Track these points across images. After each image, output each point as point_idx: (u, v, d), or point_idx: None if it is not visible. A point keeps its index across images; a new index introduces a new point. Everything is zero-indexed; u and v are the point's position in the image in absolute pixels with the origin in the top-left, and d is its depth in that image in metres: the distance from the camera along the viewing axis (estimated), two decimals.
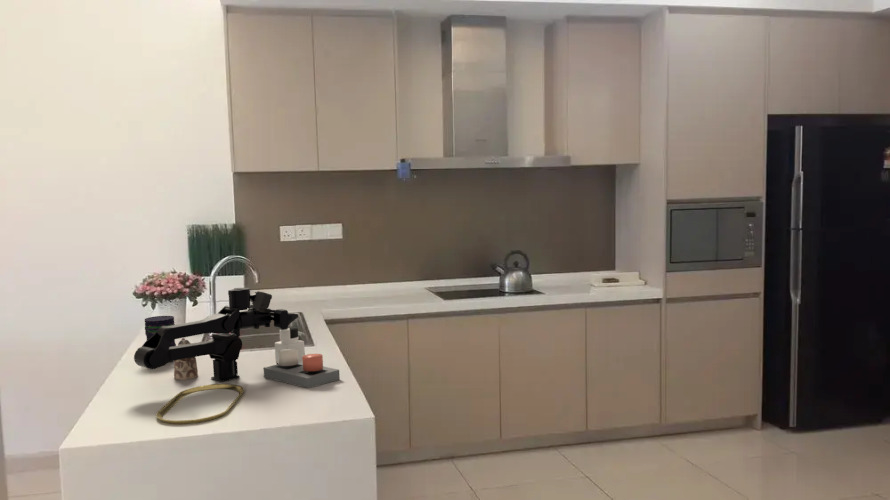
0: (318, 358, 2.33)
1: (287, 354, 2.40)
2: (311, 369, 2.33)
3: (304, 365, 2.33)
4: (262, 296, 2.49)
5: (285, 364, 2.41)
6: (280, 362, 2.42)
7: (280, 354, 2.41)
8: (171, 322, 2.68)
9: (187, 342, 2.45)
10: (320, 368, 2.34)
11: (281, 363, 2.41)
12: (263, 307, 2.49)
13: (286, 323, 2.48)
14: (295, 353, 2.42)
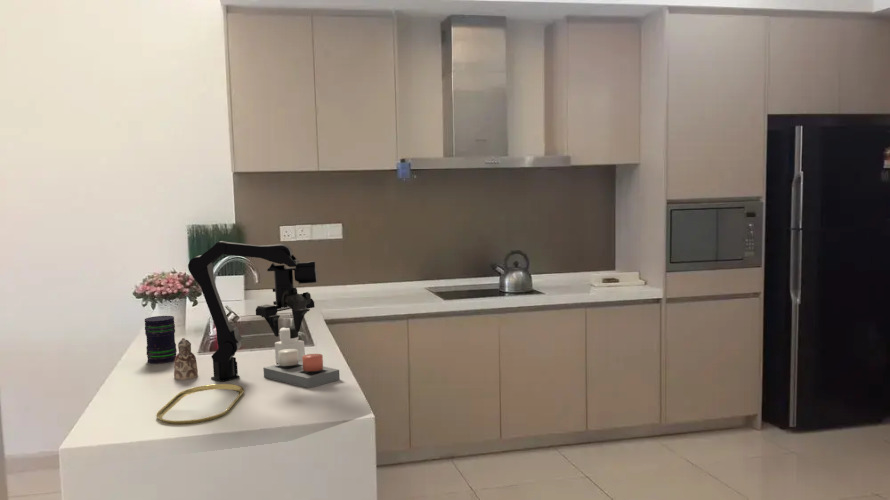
0: (318, 358, 2.33)
1: (287, 354, 2.40)
2: (311, 369, 2.33)
3: (304, 365, 2.33)
4: (294, 299, 2.36)
5: (285, 364, 2.41)
6: (280, 362, 2.42)
7: (280, 354, 2.41)
8: (171, 322, 2.68)
9: (187, 342, 2.45)
10: (320, 368, 2.34)
11: (281, 363, 2.41)
12: (286, 298, 2.37)
13: (258, 313, 2.36)
14: (295, 353, 2.42)
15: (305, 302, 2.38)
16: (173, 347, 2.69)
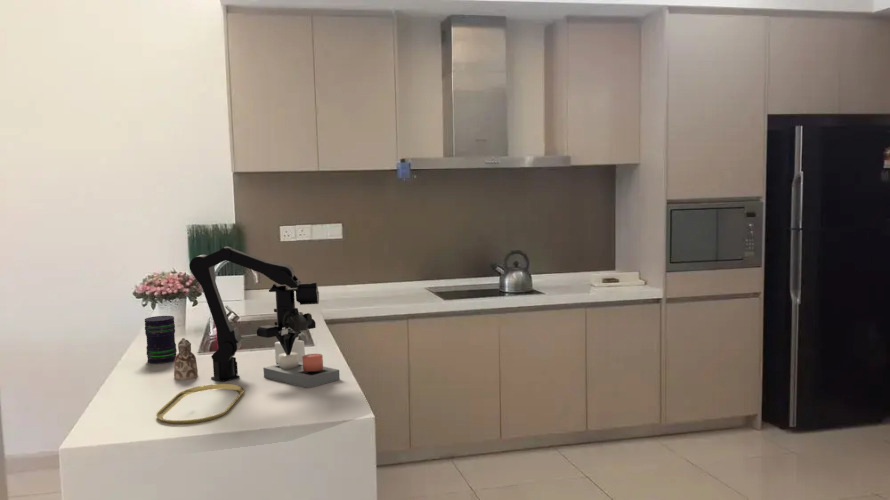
0: (318, 358, 2.33)
1: (287, 358, 2.40)
2: (311, 369, 2.33)
3: (304, 365, 2.33)
4: (295, 321, 2.36)
5: (285, 368, 2.41)
6: (280, 366, 2.42)
7: (280, 358, 2.41)
8: (171, 322, 2.68)
9: (187, 342, 2.45)
10: (320, 368, 2.34)
11: (281, 367, 2.41)
12: (287, 319, 2.38)
13: (259, 334, 2.36)
14: (295, 357, 2.42)
15: (306, 323, 2.38)
16: (173, 347, 2.69)
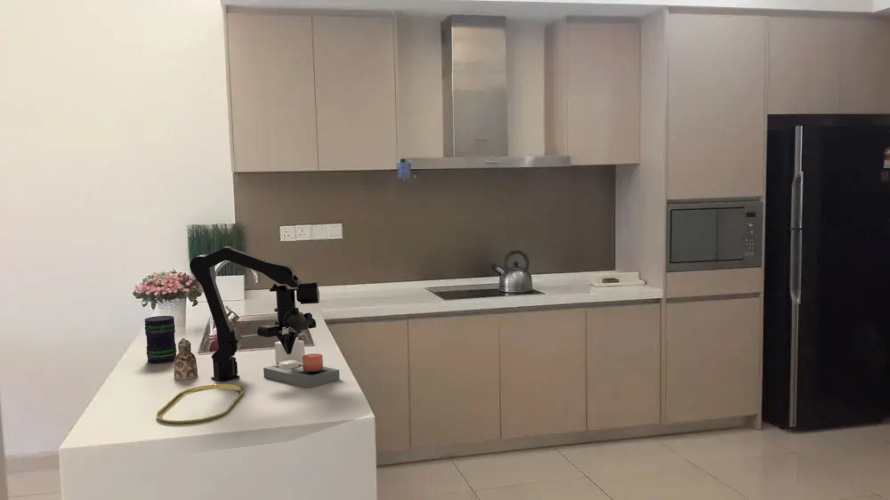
0: (318, 358, 2.33)
1: (288, 366, 2.41)
2: (311, 369, 2.33)
3: (304, 365, 2.33)
4: (296, 320, 2.36)
5: None
6: None
7: (281, 366, 2.41)
8: (171, 322, 2.68)
9: (187, 342, 2.45)
10: (320, 368, 2.34)
11: None
12: (287, 319, 2.38)
13: (260, 333, 2.36)
14: (296, 365, 2.42)
15: (307, 323, 2.38)
16: (173, 347, 2.69)
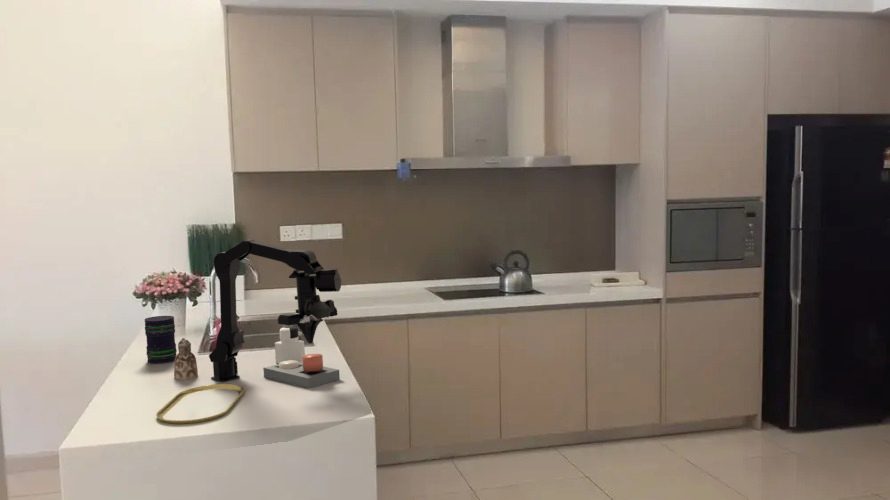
0: (318, 358, 2.33)
1: (288, 366, 2.41)
2: (311, 369, 2.33)
3: (304, 365, 2.33)
4: (318, 307, 2.29)
5: None
6: None
7: (281, 366, 2.41)
8: (171, 322, 2.68)
9: (187, 342, 2.45)
10: (320, 368, 2.34)
11: None
12: (309, 306, 2.31)
13: (281, 322, 2.29)
14: (296, 365, 2.42)
15: (329, 310, 2.31)
16: (173, 347, 2.69)
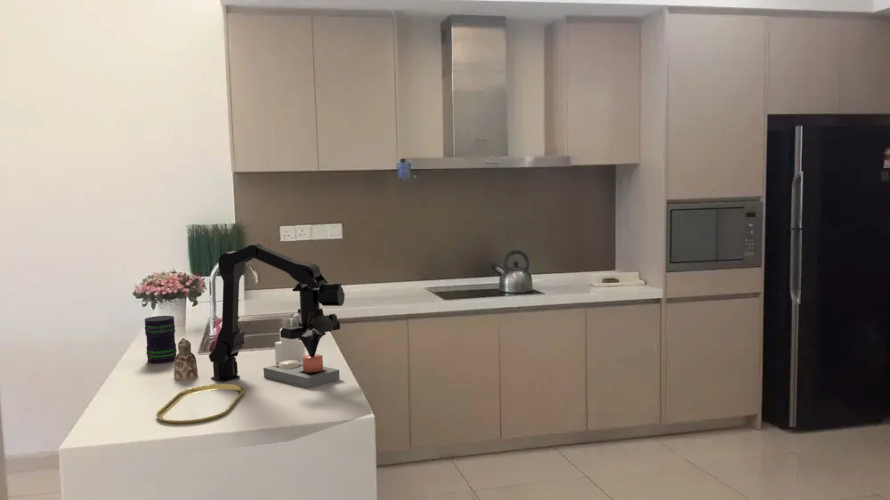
0: (318, 359, 2.33)
1: (288, 366, 2.41)
2: (311, 370, 2.33)
3: (304, 365, 2.33)
4: (320, 322, 2.28)
5: None
6: None
7: (281, 366, 2.41)
8: (171, 322, 2.68)
9: (187, 342, 2.45)
10: (320, 369, 2.34)
11: None
12: (311, 320, 2.30)
13: (283, 335, 2.28)
14: (296, 365, 2.42)
15: (331, 324, 2.30)
16: (173, 347, 2.69)
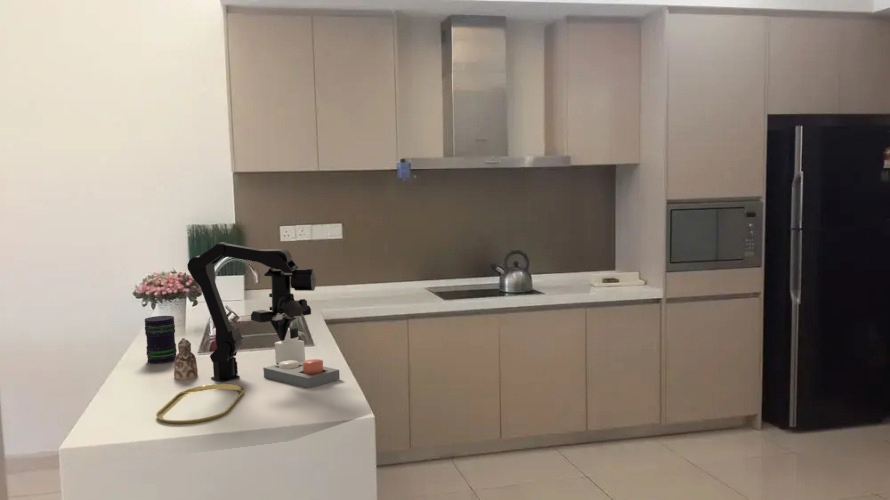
0: (318, 364, 2.33)
1: (288, 366, 2.41)
2: None
3: (305, 370, 2.33)
4: (290, 306, 2.33)
5: None
6: None
7: (281, 366, 2.41)
8: (171, 322, 2.68)
9: (187, 342, 2.45)
10: None
11: None
12: (282, 304, 2.35)
13: (253, 318, 2.33)
14: (296, 365, 2.42)
15: (301, 309, 2.35)
16: (173, 347, 2.69)
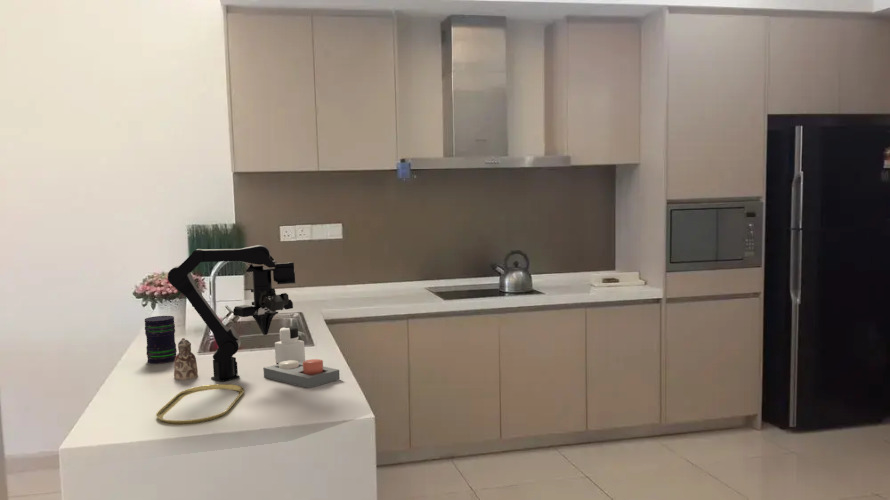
0: (318, 364, 2.33)
1: (288, 366, 2.41)
2: None
3: (305, 370, 2.33)
4: (272, 300, 2.37)
5: None
6: None
7: (281, 366, 2.41)
8: (171, 322, 2.68)
9: (187, 342, 2.45)
10: None
11: None
12: (263, 299, 2.38)
13: (236, 313, 2.37)
14: (296, 365, 2.42)
15: (283, 303, 2.38)
16: (173, 347, 2.69)
